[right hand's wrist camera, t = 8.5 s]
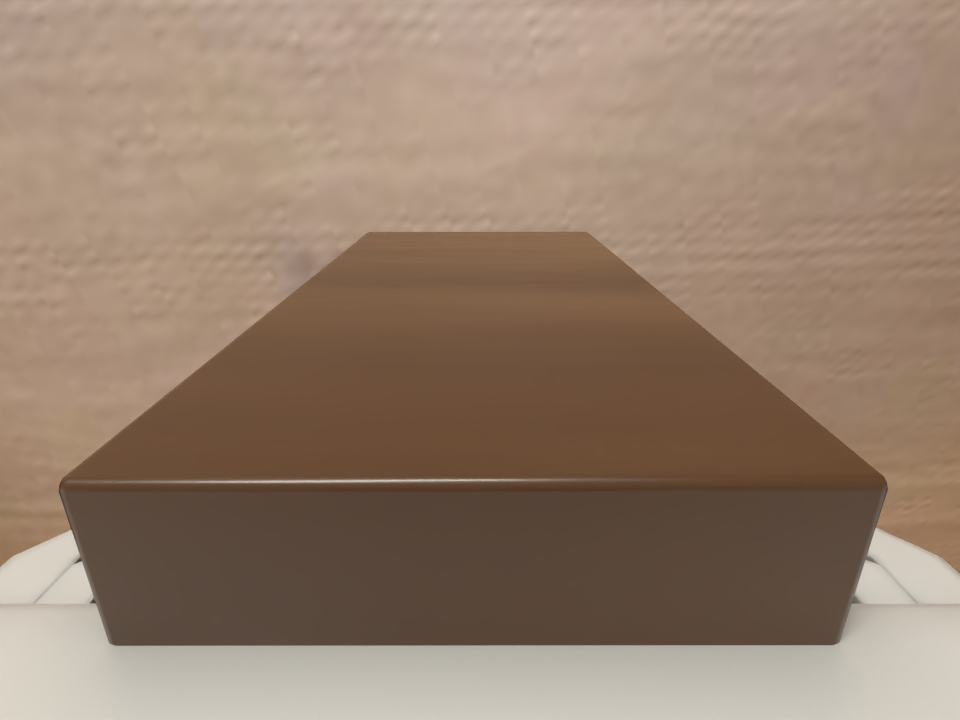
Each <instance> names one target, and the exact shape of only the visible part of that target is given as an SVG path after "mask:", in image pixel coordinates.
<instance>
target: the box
mask: <svg viewBox="0 0 960 720" xmlns="http://www.w3.org/2000/svg"><path fill="white" fill-rule="evenodd" d="M887 490H888V488H887V482H886V480H885V478H884V476H882V475H881V474H880V473H879V472H878V471H876V470H875V469H874V468H873V467H871V466H870V465H869V464H868V463H867V462H865V461H864V460H863V459H862V458H861V457H859V456H858V455H857V454H856V453H854V452H853V451H852V450H851V449H850V448H848V447H847V446H846V445H845V444H844V443H842V442H841V441H840V440H839V439H838V438H836V437H835V436H834V435H833V434H831V433H830V432H829V431H828V430H827V429H825V428H824V427H823V426H822V425H821V424H819V423H818V422H817V421H816V420H814V419H813V418H812V417H811V416H810V415H808V414H807V413H806V412H805V411H804V410H802V409H801V408H800V407H799V406H798V405H796V404H795V403H794V402H793V401H791V400H790V399H789V398H788V397H787V396H785V395H784V394H783V393H782V392H781V391H779V390H778V389H777V388H776V387H774V386H773V385H772V384H771V383H770V382H768V381H767V380H766V379H765V378H764V377H762V376H761V375H760V374H759V373H758V372H756V371H755V370H754V369H753V368H751V367H750V366H749V365H748V364H747V363H745V362H744V361H743V360H742V359H741V358H739V357H738V356H737V355H736V354H734V353H733V352H732V351H731V350H730V349H728V348H727V347H726V346H725V345H724V344H722V343H721V342H720V341H719V340H718V339H716V338H715V337H714V336H713V335H711V334H710V333H709V332H708V331H707V330H705V329H704V328H703V327H702V326H701V325H699V324H698V323H697V322H696V321H694V320H693V319H692V318H691V317H690V316H688V315H687V314H686V313H685V312H684V311H682V310H681V309H680V308H679V307H678V306H676V305H675V304H674V303H673V302H671V301H670V300H669V299H668V298H667V297H665V296H664V295H663V294H662V293H661V292H659V291H658V290H657V289H656V288H654V287H653V286H652V285H651V284H650V283H648V282H647V281H646V280H645V279H644V278H642V277H641V276H640V275H639V274H637V273H636V272H635V271H634V270H633V269H631V268H630V267H629V266H628V265H627V264H625V263H624V262H623V261H622V260H621V259H619V258H618V257H617V256H616V255H614V254H613V253H612V252H611V251H610V250H608V249H607V248H606V247H605V246H604V245H602V244H601V243H600V242H599V241H597V240H596V239H595V238H594V237H593V236H591V235H590V234H589V233H587V232H369V233H367V234H366V235H364V236H363V237H362V238H361V239H360V240H358V241H357V242H356V243H355V244H353V245H352V246H351V247H350V248H348V249H347V250H346V251H345V252H343V253H342V254H341V255H340V256H338V257H337V258H336V259H335V260H333V261H332V262H331V263H330V264H328V265H327V266H326V267H325V268H323V269H322V270H321V271H320V272H318V273H317V274H316V275H315V276H314V277H312V278H311V279H310V280H309V281H307V282H306V283H305V284H304V285H302V286H301V287H300V288H299V289H297V290H296V291H295V292H294V293H292V294H291V295H290V296H289V297H287V298H286V299H285V300H284V301H282V302H281V303H280V304H279V305H277V306H276V307H275V308H274V309H273V310H271V311H270V312H269V313H268V314H266V315H265V316H264V317H263V318H261V319H260V320H259V321H258V322H256V323H255V324H254V325H253V326H251V327H250V328H249V329H248V330H246V331H245V332H244V333H243V334H241V335H240V336H239V337H238V338H236V339H235V340H234V341H233V342H231V343H230V344H229V345H228V346H227V347H225V348H224V349H223V350H222V351H220V352H219V353H218V354H217V355H215V356H214V357H213V358H212V359H210V360H209V361H208V362H207V363H205V364H204V365H203V366H202V367H200V368H199V369H198V370H197V371H195V372H194V373H193V374H192V375H190V376H189V377H188V378H187V379H186V380H184V381H183V382H182V383H181V384H179V385H178V386H177V387H176V388H174V389H173V390H172V391H171V392H169V393H168V394H167V395H166V396H164V397H163V398H162V399H161V400H159V401H158V402H157V403H156V404H154V405H153V406H152V407H151V408H149V409H148V410H147V411H146V412H144V413H143V414H142V415H141V416H140V417H138V418H137V419H136V420H135V421H133V422H132V423H131V424H130V425H128V426H127V427H126V428H125V429H123V430H122V431H121V432H120V433H118V434H117V435H116V436H115V437H113V438H112V439H111V440H110V441H108V442H107V443H106V444H105V445H103V446H102V447H101V448H100V449H99V450H97V451H96V452H95V453H94V454H92V455H91V456H90V457H89V458H87V459H86V460H85V461H84V462H82V463H81V464H80V465H79V466H77V467H76V468H75V469H74V470H72V471H71V472H70V473H69V474H67V475H66V476H65V477H64V478H63V479H62V481H61V482H60V485H59V494H60V497H61V500H62V503H63V506H64V509H65V512H66V515H67V518H68V521H69V524H70V527H71V530H72V533H73V536H74V539H75V542H76V545H77V548H78V551H79V554H80V557H81V560H82V563H83V566H84V569H85V572H86V575H87V578H88V581H89V584H90V587H91V590H92V593H93V596H94V599H95V602H96V605H97V608H98V611H99V614H100V617H101V620H102V623H103V626H104V629H105V632H106V635H107V638H108V641H109V644H112V645H114V646H488V645H835V644H838V643H839V642H840V639H841V636H842V632H843V629H844V626H845V623H846V620H847V617H848V613H849V610H850V607H851V604H852V601H853V598H854V595H855V591H856V588H857V585H858V582H859V579H860V576H861V572H862V569H863V566H864V563H865V560H866V557H867V554H868V550H869V547H870V544H871V541H872V538H873V535H874V531H875V528H876V525H877V522H878V519H879V516H880V513H881V509H882V506H883V503H884V500H885V497H886V494H887Z"/></svg>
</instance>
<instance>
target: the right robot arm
mask: <svg viewBox="0 0 960 720" xmlns="http://www.w3.org/2000/svg"><path fill="white" fill-rule="evenodd" d="M0 720H960V574H959V573H958V572H957V571H956V570H955V569H954V568H953V567H951V566H950V565H949V564H948V563H947V562H946V561H945V560H944V559H943V558H941V557H940V556H937V555H935V554H933V553H931V552H929V551H926V550H924V549H922V548H920V547H918V546H915V545H913V544H911V543H909V542H907V541H904V540H902V539H900V538H898V537H896V536H894V535H891V534H889V533H887V532H885V531H883V530H880V529H878V528H875V531H874V535H873V538H872V541H871V544H870V547H869V550H868V554H867V557H866V560H865V563H864V566H863V569H862V572H861V576H860V579H859V582H858V585H857V588H856V591H855V595H854V598H853V601H852V604H851V607H850V610H849V613H848V617H847V620H846V623H845V626H844V629H843V632H842V636H841V639H840V642H839V643H838V644H835V645H488V646H114V645H112V644H109V641H108V638H107V635H106V632H105V629H104V626H103V623H102V620H101V617H100V614H99V611H98V608H97V605H96V602H95V599H94V596H93V593H92V590H91V587H90V584H89V581H88V578H87V575H86V572H85V569H84V566H83V563H82V560H81V557H80V554H79V551H78V548H77V545H76V542H75V539H74V536H73V533H72V530H70V531H68V532H65V533H63V534H61V535H59V536H56V537H54V538H52V539H50V540H48V541H45V542H43V543H41V544H39V545H36V546H34V547H32V548H30V549H28V550H25V551H23V552H21V553H19V554H16V555H14V556H12V557H11V558H10V559H9V560H8V561H6V562H5V563H4V564H3V565H2V566H1V567H0Z"/></svg>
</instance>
